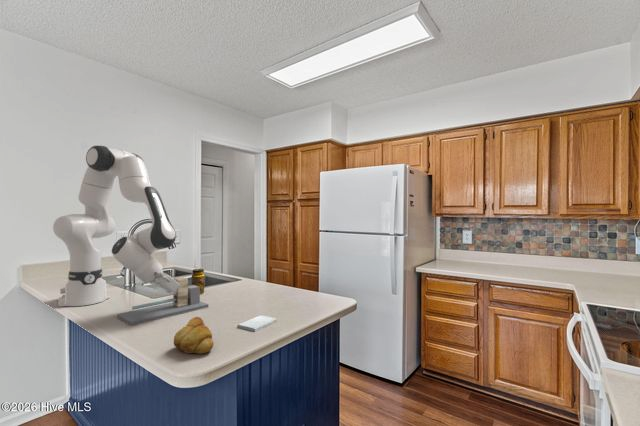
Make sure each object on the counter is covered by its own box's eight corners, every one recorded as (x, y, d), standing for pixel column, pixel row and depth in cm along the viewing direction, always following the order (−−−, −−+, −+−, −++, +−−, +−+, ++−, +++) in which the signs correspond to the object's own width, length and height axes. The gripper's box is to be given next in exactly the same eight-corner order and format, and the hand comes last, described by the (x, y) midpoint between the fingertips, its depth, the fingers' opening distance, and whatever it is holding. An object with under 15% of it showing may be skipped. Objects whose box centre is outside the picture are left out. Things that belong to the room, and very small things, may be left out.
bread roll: (220, 350, 92) (221, 323, 92) (188, 362, 85) (188, 332, 85) (199, 338, 100) (199, 313, 100) (168, 348, 93) (168, 321, 93)
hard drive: (255, 328, 107) (277, 318, 118) (237, 324, 111) (260, 314, 122) (255, 333, 107) (277, 322, 118) (237, 329, 111) (259, 318, 122)
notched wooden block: (173, 304, 132) (173, 278, 132) (182, 302, 135) (182, 276, 135) (178, 306, 129) (178, 279, 129) (187, 304, 132) (187, 278, 132)
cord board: (116, 317, 120) (117, 295, 120) (191, 301, 143) (192, 282, 143) (130, 325, 111) (131, 302, 111) (208, 307, 134) (208, 287, 134)
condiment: (206, 294, 155) (206, 269, 155) (188, 296, 151) (188, 271, 151) (203, 291, 162) (203, 267, 162) (185, 293, 157) (185, 269, 157)
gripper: (168, 268, 117) (192, 290, 125) (145, 262, 131) (169, 282, 138) (155, 281, 114) (181, 303, 121) (133, 274, 127) (158, 294, 134)
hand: (174, 292), depth 130 cm, fingers closed, pressing on notched wooden block
